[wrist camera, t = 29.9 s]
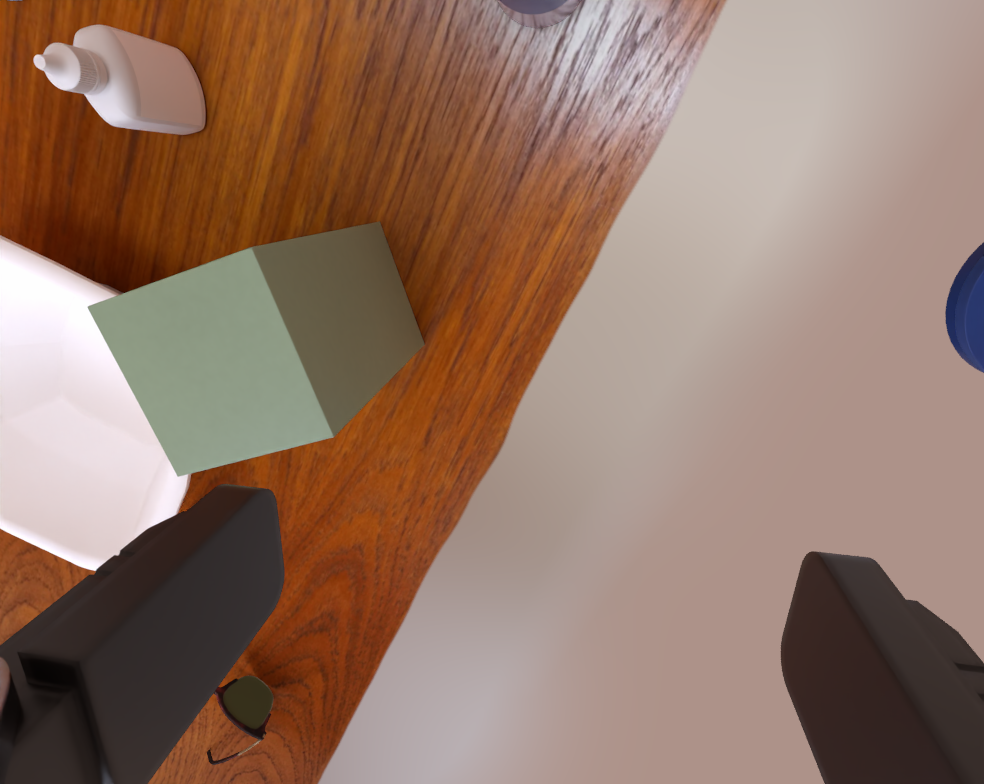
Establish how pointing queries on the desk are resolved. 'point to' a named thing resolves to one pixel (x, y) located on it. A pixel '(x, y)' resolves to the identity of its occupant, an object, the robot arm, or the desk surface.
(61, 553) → the bowl
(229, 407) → the plinth
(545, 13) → the tin can
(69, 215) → the desk surface
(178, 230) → the desk surface
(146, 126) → the eye dropper bottle
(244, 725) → the sunglasses
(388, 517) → the desk surface
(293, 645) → the desk surface
